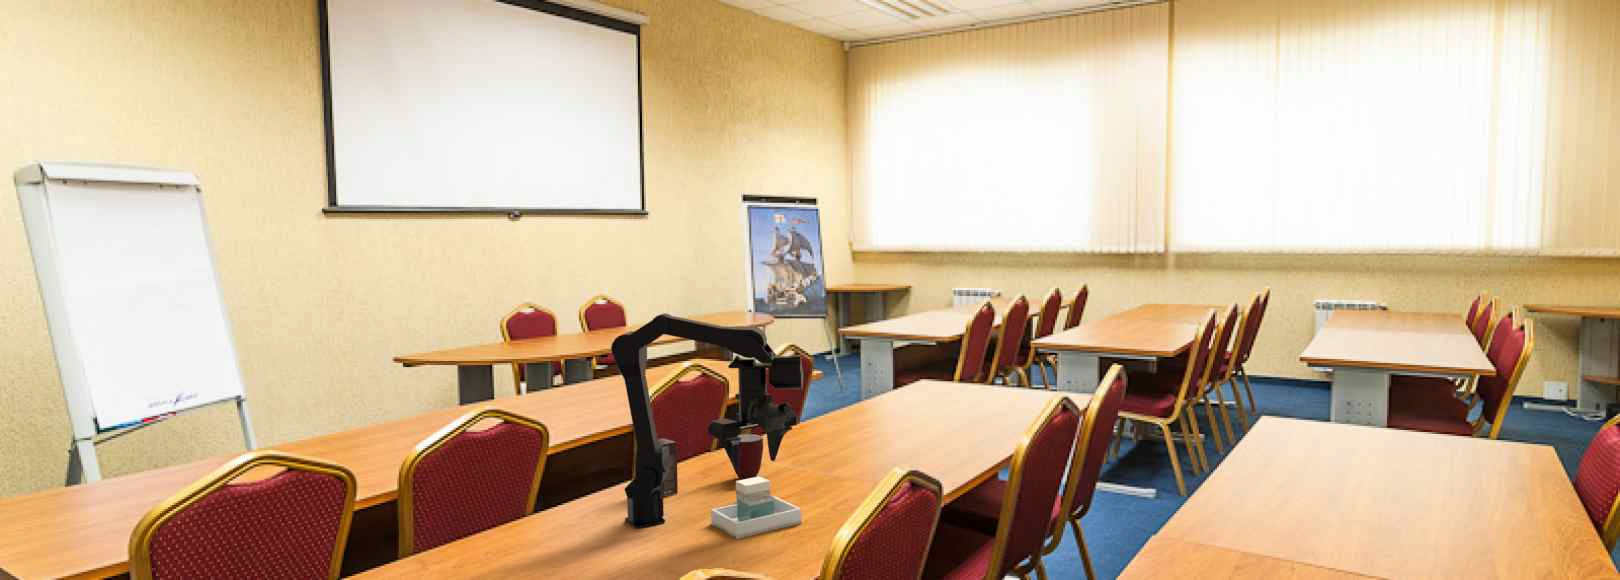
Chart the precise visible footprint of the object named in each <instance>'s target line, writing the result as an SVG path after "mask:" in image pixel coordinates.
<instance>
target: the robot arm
mask: <svg viewBox="0 0 1620 580" xmlns="http://www.w3.org/2000/svg"><path fill="white" fill-rule="evenodd" d="M663 335H666V336H671V337H676V338H679V339H680V338H681V339H685V340H689V341H690V340H691V341H695V342H701V343H704V344H710V345H713V346H718V347H721V348H724V349H725V350H727V351H729V352H731V353H734V354H736V355H735V357H734V359H733V360H732V361H731V362H730V364H728V366H727V367H728V369H738V370H737V371H738V377H737V378H738V379H737V380H738V393H735V395H734V396H735V398H734V399H735V400H738V405H739V406H738V407H739V408H738V409H739V410H738V411H739V412H738V413H735V419H736V420H732V419H728V418H720V419H716V420H711V421H710V422H709V424H708V426H707V431H708V432H707V433H708V436H711V437H713V438H714V439H717V440H718V441H719V442H720V444H721V446H722V447H723V449H724V450H725V453H726V455H727V456H728V459H729V461H730V463H731V465H732V468H733V470H734V469H738V467H739V452H738V444H739V442H740V440H741V438H740V437H737V436H738V435H740V434H741V431H744V430H745V431H746V430H748V429H754V428H759V427H760V428H761V430H762V431H763V432H765V433H766V438H767V439H766V440H767V441H766V442H767V448H768V455H769V459H770V461H771V462H775V460H776V459H777V455H778V453H779V450H780V449H779V448H780V445H781V443H782V440H783V439H784V436H785V435H786V434H787V433H788V432H789V431H792V429H793V426H798V416H797V414H796V412H795V411H793V410H792V405H791V404H790V403H789V402H782V403H780V404H773V398H772V395H771V394H770V393H768V387H767V386H768V384H767V383H769V385H771V387H772V386H773V387H774V390H801V389H802V390H803V388H804V369H803V365H802V364H803V363H802V356H801V355H800V354H796V355H795V354H794V355H787V356H786V355H785V356H784V355H783V356H782V355H781V356H779V355H778V356H777V354H776V353H775V351H774V350H773V349H772V348H771V346H770V344H768V338H767V334H766V333H765V332H764V331H763V329H761V327H757V326H747V325H746V326H741V325H740V326H737V325H736V326H726V325H725V326H722V325H719V324H718V325H717V324H713V323H708V322H702V321H700V320H699V321H698V320H694V319H690V318H684V317H681V316H680V317H679V316H674V315H671V314H669V313H664V312H663V313H661V314H658V315H656V316H655V317H653V318H652V320H650V321H649V322H647V323H646V324H644V325H643V326H641V327H640V328H638V329H636V330H633V331H627V332H625V333H623V334H621V335H618V336H617V337H615V339H614V340H613V341H612V343H611V346H610V348H611V349H610V350H611V354H612V357H613V359H614V362H615V365H616V367H617V369H618V371H619V373H620V374H621V376H622V377H623V379H624V380H623V381H624V384H625V390H626V395H627V400H628V404H629V405H628V406H629V411H630V416H631V422H632V427H633V433H634V438H635V443H636V449H635V451H636V452H635V459H634V478H633V479H632V480H631V481H630V482H629V483H628V484H627V485H626V486H625V488H624V493H625V495H626V502H627V504H626V505H627V517H625V518H624V521H625V522H626V523H628V524H629V525H631V526H632V527H634V528H636V529H641V528H645V527H649V526H654V525H659V524H662V523H665V522H666V519H665V518H663V517H664V516H665V513H664V511H665V510H664V497H663V496H661V491H659V490H657V488H658V487H659V486H660V484H661V483H662V482H663V480H664V479H665V478H666V477H667V475H668V473H669V471H670V466H671V465H672V462H671V460H670V457H669V446H665V447H662V446H661V444H660V443H659V441H658V439H659V438H658V435H657V430H656V424H655V419H654V414H653V413H654V412H653V407H652V402H651V397H650V392H649V386H648V382H647V377H646V376H647V375H646V371H647V361H648V346H649V345H650V344H652V343H653V342H655V341H656V340H658V339H659V338H661V337H662V336H663ZM740 356H741V357H743V358H741V357H740ZM767 369H768V382H767ZM737 420H738V421H737Z"/></svg>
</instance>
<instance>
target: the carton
mask: <svg viewBox="0 0 1620 580" xmlns="http://www.w3.org/2000/svg"><path fill="white" fill-rule="evenodd" d="M757 491H762V492H764V493H766V494H768V495H770V496H771V481H770V480H769V479H766V478H763V477H762V476H757V477H754V478H749V479H744V480H740V479H739V480H736V481H735V497H736V496H738V495H743V494H748V493H753V492H757ZM735 499H736V498H735ZM735 501H736V503H735V504H737V499H736V500H735Z"/></svg>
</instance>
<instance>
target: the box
mask: <svg viewBox="0 0 1620 580" xmlns="http://www.w3.org/2000/svg"><path fill="white" fill-rule="evenodd" d="M657 439H658V441H659V443H660V444H661V446H662V447H665V446H669V457H670V460H671V462H672V465H671V466H670V471H669V473H668V475H667V477H666V478H665V479H664V480H663V482H662V483H661V484H660V486H659V487H658V488H657V490H659V491H661V497H667V496H671V495H675V494H678V493H679V490H678V489H679V487H678V486H679V485H678V442H677V441H674V440H671V439H668V438H665V437H664V438H663V437H662V438H657Z"/></svg>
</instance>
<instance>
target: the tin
mask: <svg viewBox="0 0 1620 580" xmlns="http://www.w3.org/2000/svg"><path fill="white" fill-rule="evenodd" d="M772 496H773V495H771V494H770V495H768V494H766V493H764V492H762V491H757V492H753V493H748V494H743V495H738V496H736V495H735V499H737V503H736V504H737V517H738V520H739V521H746V520H750V519H754V518H759V517H763V516H768V515H772V514H774V500H775V498H774V497H775V496H774V497H772Z"/></svg>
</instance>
